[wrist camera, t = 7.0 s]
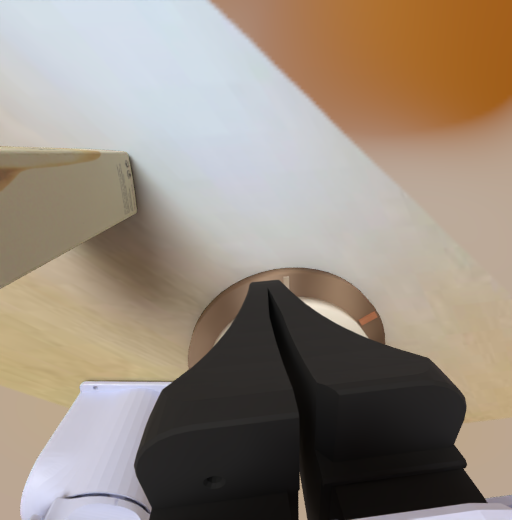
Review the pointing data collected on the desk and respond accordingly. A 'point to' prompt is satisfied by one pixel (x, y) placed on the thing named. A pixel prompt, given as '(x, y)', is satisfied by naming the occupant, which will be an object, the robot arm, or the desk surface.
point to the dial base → (301, 285)
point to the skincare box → (57, 202)
